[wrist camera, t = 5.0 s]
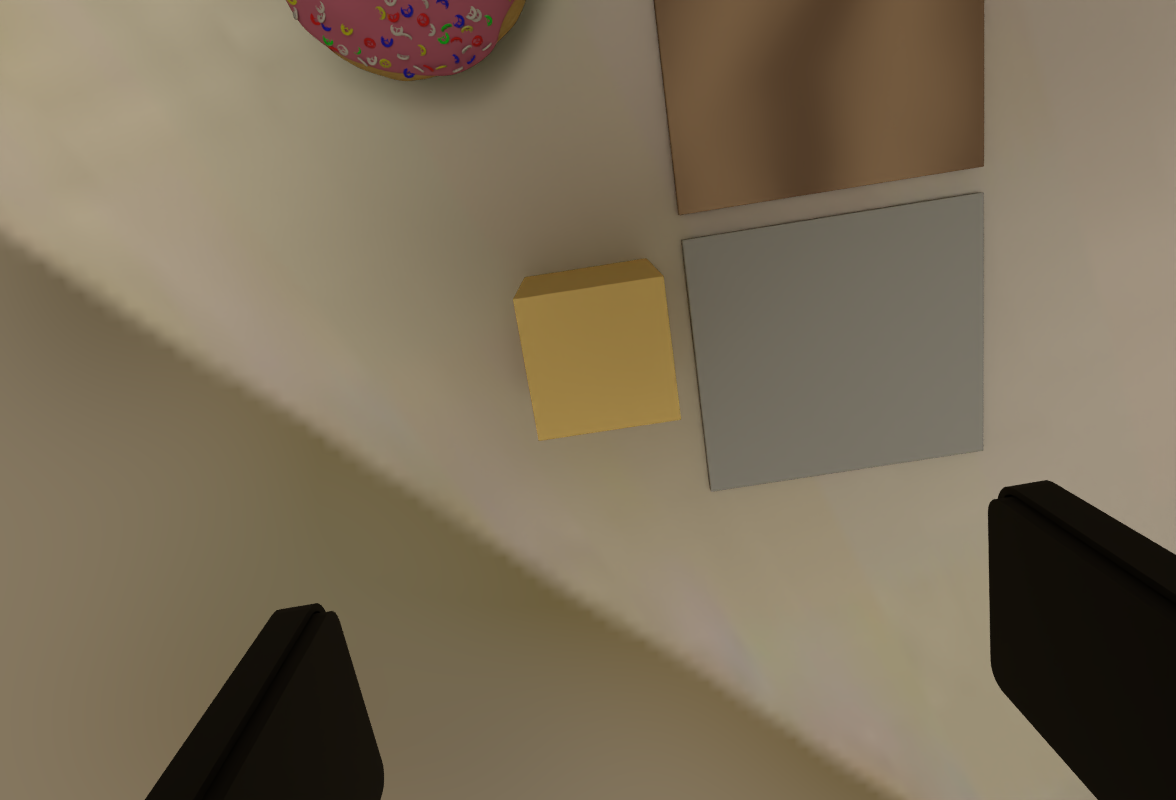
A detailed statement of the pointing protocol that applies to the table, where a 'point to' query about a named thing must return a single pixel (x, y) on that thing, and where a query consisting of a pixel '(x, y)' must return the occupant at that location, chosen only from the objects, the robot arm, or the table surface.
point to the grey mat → (839, 341)
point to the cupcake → (409, 32)
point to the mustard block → (597, 349)
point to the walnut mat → (817, 94)
